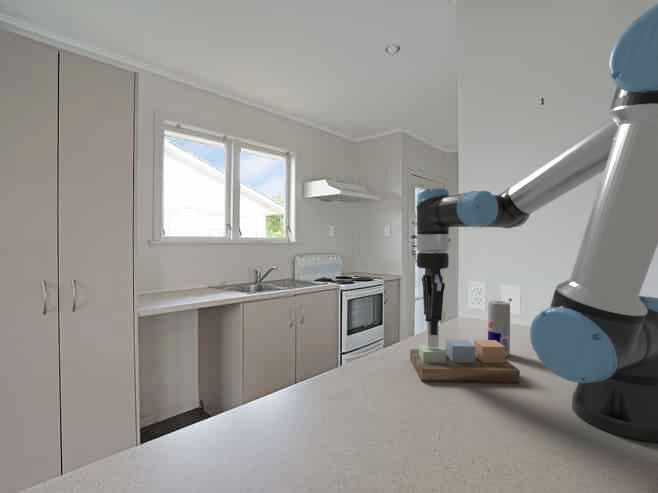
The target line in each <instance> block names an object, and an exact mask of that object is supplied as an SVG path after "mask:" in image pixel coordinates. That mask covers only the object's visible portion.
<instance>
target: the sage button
mask: <svg viewBox="0 0 658 493" xmlns="http://www.w3.org/2000/svg"><path fill="white" fill-rule="evenodd" d="M418 349H419V358H420V360H421V361H422V362H423V363H446V352H445V351H444V350H445V349H444V348H443V347H442V346H441V345H440V344H439V348H433V347H427V346H426V344H418Z"/></svg>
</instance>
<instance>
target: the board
mask: <svg viewBox="0 0 658 493" xmlns="http://www.w3.org/2000/svg"><path fill="white" fill-rule="evenodd" d="M444 351H445V352H446V349H444ZM409 357H410V359H409V360H410V362H411V364H412V366H413V368H414V369H415V371H416V374H417V376H418V377H419V379H420V381H421V382H424V383H425V382H427V383H431V382H433V383H475V384H476V383H477V384H478V383H481V384H485V383H486V384H488V383H489V384H520V382H521V380H520V379H521V378H520V377H521V376H520V372H521V371H520V369H518V368H517V367H516V366H515V365H513V364H512V363H511V362H509V361H508V360H506V359H505V363H482V362H480V361H479V360H478V359H477V358H476V357H475V363H453V362H452V361H451V360H450V359H449V358H448V357H447V355H446V363H423V362H422V361H421V360H420V358H419V348H418V349H416V348H410V356H409Z"/></svg>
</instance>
